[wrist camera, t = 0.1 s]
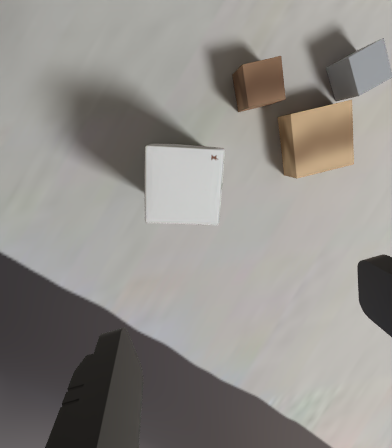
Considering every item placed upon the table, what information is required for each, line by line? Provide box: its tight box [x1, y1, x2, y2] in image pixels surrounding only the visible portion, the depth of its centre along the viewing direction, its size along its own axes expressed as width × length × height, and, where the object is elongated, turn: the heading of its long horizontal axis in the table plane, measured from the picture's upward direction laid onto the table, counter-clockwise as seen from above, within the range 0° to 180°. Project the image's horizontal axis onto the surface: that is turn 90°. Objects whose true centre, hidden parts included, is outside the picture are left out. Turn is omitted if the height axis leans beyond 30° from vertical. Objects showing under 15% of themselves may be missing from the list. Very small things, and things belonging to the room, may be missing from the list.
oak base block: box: [278, 100, 354, 178], centre depth 35 cm, size 8×8×4 cm
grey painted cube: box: [326, 38, 392, 101], centre depth 33 cm, size 4×4×4 cm
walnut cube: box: [232, 56, 286, 112], centre depth 32 cm, size 4×4×4 cm
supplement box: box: [145, 144, 225, 225], centre depth 30 cm, size 7×7×13 cm
